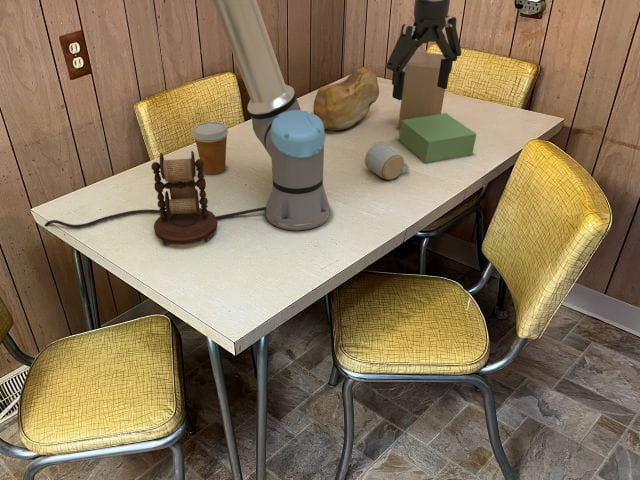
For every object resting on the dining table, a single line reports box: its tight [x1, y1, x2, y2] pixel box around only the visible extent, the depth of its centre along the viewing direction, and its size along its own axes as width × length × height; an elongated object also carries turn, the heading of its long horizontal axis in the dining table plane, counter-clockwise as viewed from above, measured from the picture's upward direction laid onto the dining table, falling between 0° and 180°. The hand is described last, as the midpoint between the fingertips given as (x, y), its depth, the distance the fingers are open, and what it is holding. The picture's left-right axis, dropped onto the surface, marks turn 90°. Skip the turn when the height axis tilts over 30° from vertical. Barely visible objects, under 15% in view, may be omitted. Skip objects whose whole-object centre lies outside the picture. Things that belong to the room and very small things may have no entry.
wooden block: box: [398, 51, 446, 129], centre depth 171 cm, size 10×10×20 cm
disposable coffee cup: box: [192, 121, 229, 175], centre depth 159 cm, size 10×10×12 cm
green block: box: [398, 112, 477, 164], centre depth 164 cm, size 14×16×6 cm
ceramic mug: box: [364, 142, 409, 181], centre depth 152 cm, size 11×8×8 cm
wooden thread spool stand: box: [150, 150, 218, 246], centre depth 132 cm, size 15×15×20 cm
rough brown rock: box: [312, 65, 380, 132], centre depth 181 cm, size 23×17×15 cm
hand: (419, 93), depth 144 cm, fingers open, 13 cm apart
